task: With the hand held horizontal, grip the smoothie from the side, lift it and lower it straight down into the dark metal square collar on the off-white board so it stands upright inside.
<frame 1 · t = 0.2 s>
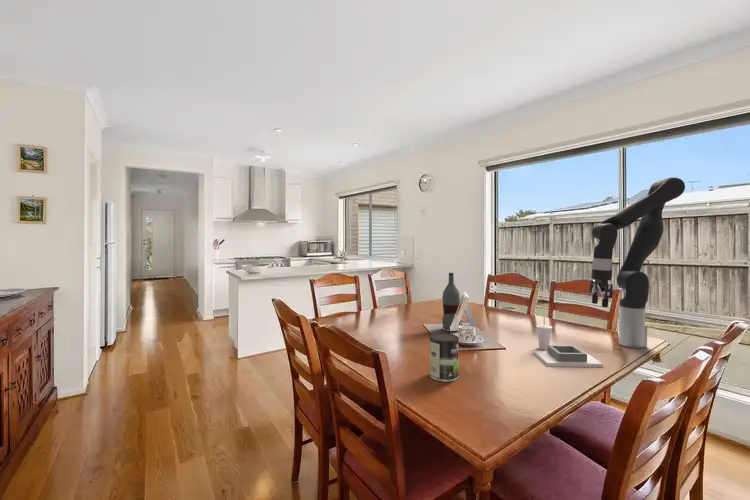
hand: (599, 305, 156), 18 cm above the table, tool pointing down, fingers open, 8 cm apart
vodka: (451, 330, 183), on the table
coffee can: (444, 376, 124), on the table
socket stand: (566, 359, 139), on the table
smoothie: (544, 348, 153), on the table
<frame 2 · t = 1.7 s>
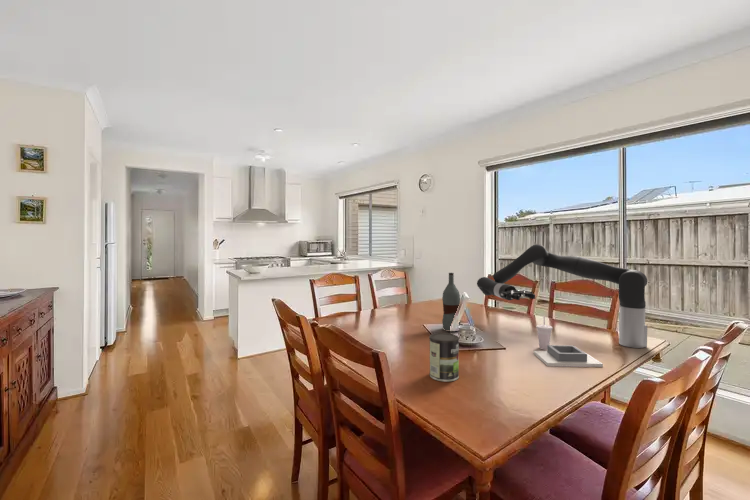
hand: (526, 297, 162), 21 cm above the table, tool horizontal, fingers open, 8 cm apart
nothing on the table moved.
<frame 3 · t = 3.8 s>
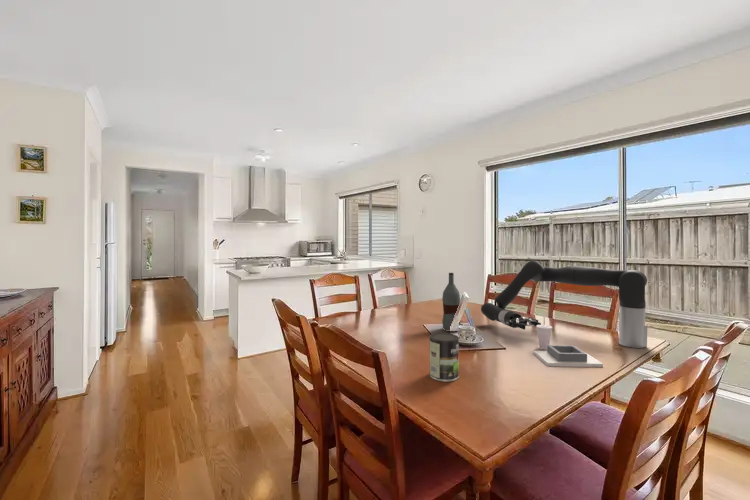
hand: (532, 326, 159), 8 cm above the table, tool horizontal, fingers open, 8 cm apart
nothing on the table moved.
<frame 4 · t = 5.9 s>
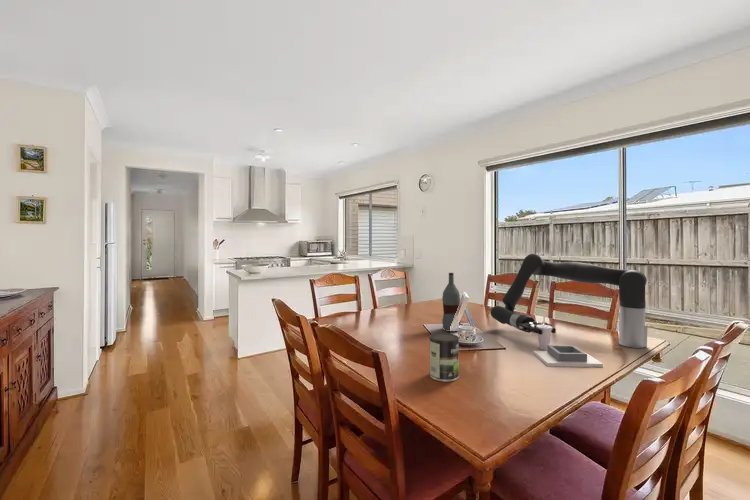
hand: (548, 331, 150), 8 cm above the table, tool horizontal, fingers closed on smoothie, 6 cm apart
smoothie: (544, 348, 153), on the table, touching gripper
everything else where it was.
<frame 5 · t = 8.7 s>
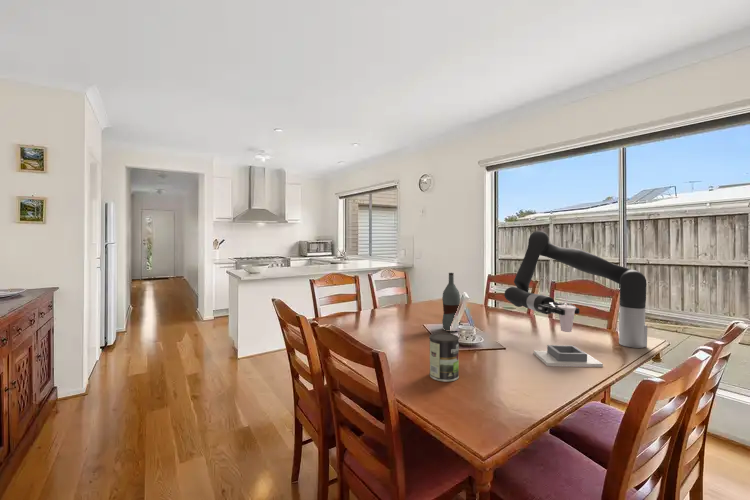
hand: (571, 311, 136), 20 cm above the table, tool horizontal, fingers closed on smoothie, 6 cm apart
smoothie: (566, 331, 138), point 11 cm above the table, touching gripper
everything else where it was.
when the fingers open (10 cm above the table, at t = 11.6 s): smoothie stays where it is, resting on socket stand.
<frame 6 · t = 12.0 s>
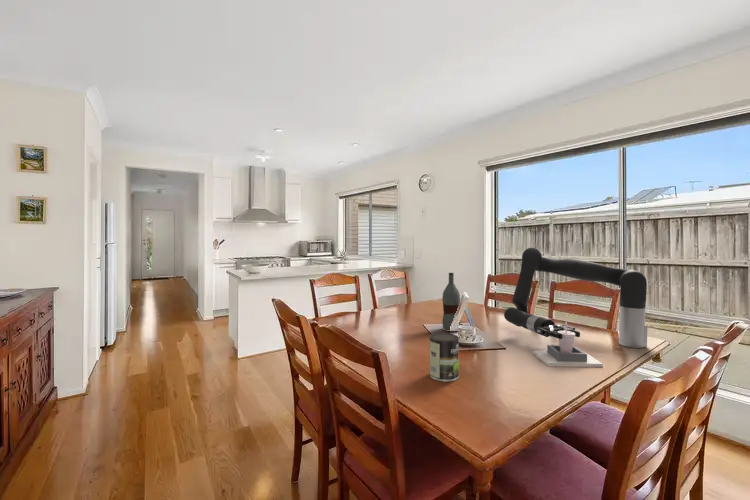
hand: (570, 335, 136), 10 cm above the table, tool horizontal, fingers open, 8 cm apart
smoothie: (565, 357, 139), point 1 cm above the table, touching socket stand
everything else where it was.
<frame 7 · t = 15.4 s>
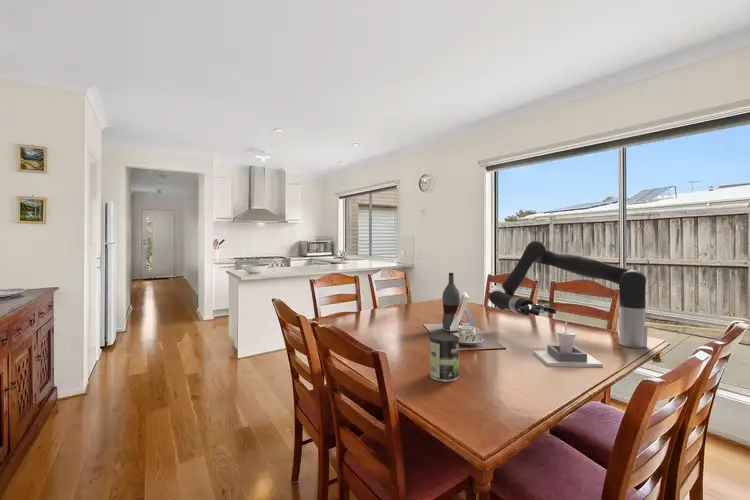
hand: (547, 312, 148), 17 cm above the table, tool horizontal, fingers open, 8 cm apart
nothing on the table moved.
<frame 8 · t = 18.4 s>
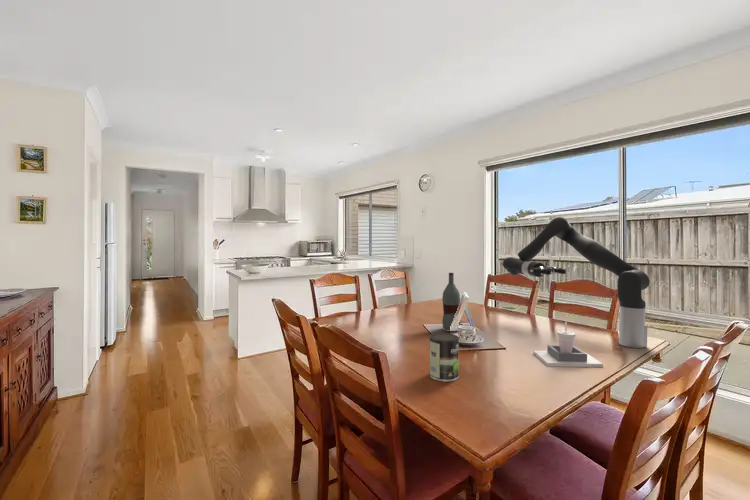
hand: (557, 272, 163), 32 cm above the table, tool horizontal, fingers open, 8 cm apart
nothing on the table moved.
at the end: smoothie 0.1 cm off-centre on the socket stand, point 1.0 cm above the socket stand's base; smoothie tilted 0°; the gripper is holding nothing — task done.
